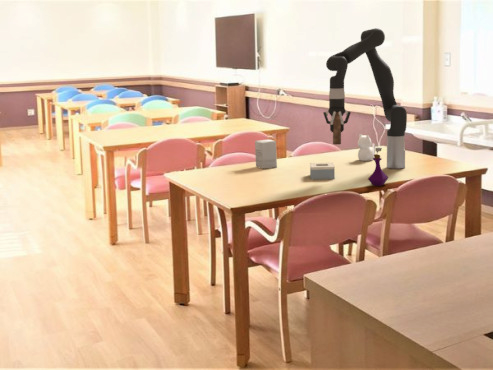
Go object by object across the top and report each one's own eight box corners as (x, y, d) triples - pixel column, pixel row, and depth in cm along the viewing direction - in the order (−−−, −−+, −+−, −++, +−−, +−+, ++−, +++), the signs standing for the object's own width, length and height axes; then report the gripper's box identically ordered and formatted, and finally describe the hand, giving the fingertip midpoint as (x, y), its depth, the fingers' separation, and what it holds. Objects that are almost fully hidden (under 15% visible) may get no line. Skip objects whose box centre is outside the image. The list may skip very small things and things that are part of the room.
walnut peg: (340, 143, 360) (340, 111, 357) (341, 144, 356) (341, 112, 353) (332, 143, 360) (332, 111, 357) (333, 144, 356) (333, 112, 353)
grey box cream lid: (333, 174, 372) (333, 162, 371) (334, 178, 360) (334, 166, 359) (310, 174, 373) (310, 163, 372) (310, 179, 361) (310, 167, 360)
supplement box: (269, 165, 404) (269, 138, 401) (277, 167, 396) (276, 140, 393) (255, 167, 400) (254, 140, 397) (262, 169, 392) (261, 142, 389)
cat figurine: (353, 160, 409) (353, 134, 406) (368, 157, 417) (368, 132, 413) (365, 162, 402) (364, 136, 399) (380, 159, 410) (380, 133, 406)
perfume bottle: (382, 187, 338) (382, 149, 334) (367, 185, 342) (367, 148, 338) (388, 184, 344) (388, 147, 341) (373, 182, 348) (373, 146, 345)
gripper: (350, 96, 357) (350, 130, 360) (322, 97, 358) (322, 131, 361) (352, 97, 350) (351, 132, 353) (322, 98, 350) (322, 133, 354)
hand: (336, 131), depth 357 cm, fingers closed on walnut peg, 4 cm apart
